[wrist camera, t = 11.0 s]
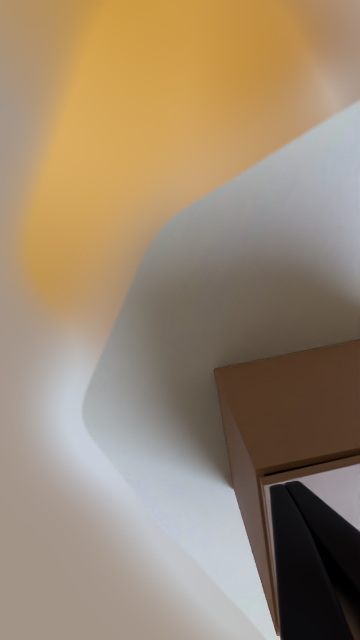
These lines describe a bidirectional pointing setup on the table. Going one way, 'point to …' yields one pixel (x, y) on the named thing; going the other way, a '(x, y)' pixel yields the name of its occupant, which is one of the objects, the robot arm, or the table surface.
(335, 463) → the flap
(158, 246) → the table surface
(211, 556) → the table surface
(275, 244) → the table surface
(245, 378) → the carton
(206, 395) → the table surface
